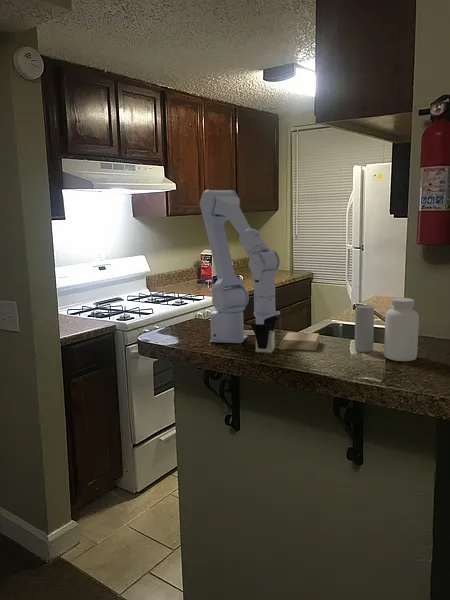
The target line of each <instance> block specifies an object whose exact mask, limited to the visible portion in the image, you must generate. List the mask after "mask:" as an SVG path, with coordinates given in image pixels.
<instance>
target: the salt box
mask: <svg viewBox="0 0 450 600" xmlns="http://www.w3.org/2000/svg"><path fill="white" fill-rule="evenodd" d="M275 331H276V330H274V331H272V330H270V332H269V336H268V344H267V348H266V349H259V348H258V345H257V340H256V339H255V353H270V354H272V353H273V351H274V350H275V349H276V347H275V346H276V344H275V343H276V342H275V341H276V339H275V335H276V334H275Z"/></svg>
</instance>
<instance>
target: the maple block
mask: <svg viewBox="0 0 450 600" xmlns="http://www.w3.org/2000/svg"><path fill="white" fill-rule="evenodd" d="M319 343H320V333H318V332H317V333H315V332H314V333H313V332H294V331H293V332H292V331H288V332H286V334H285V336H284V337H283V338H282V350H297V351H299V350H300V351H317V349H318V346H319Z"/></svg>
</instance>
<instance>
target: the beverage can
mask: <svg viewBox="0 0 450 600" xmlns="http://www.w3.org/2000/svg"><path fill="white" fill-rule="evenodd" d="M374 324H375V308H374V306H373V305H368V304H359V305H356V306H355V309H354V349H355V352H358V353H371V352H373V351H374V335H375V334H374V329H375V325H374Z"/></svg>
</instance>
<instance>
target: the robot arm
mask: <svg viewBox="0 0 450 600" xmlns="http://www.w3.org/2000/svg"><path fill="white" fill-rule="evenodd" d="M240 204H241V200H240V198H239V196H238V194H237V193H236V191H235V190H233V189H229V190H225V189H224V190H222V189H219V190H218V189H217V190H215V189H214V190H211V189H206V190H204V191H203V192H202V194H201V197H200V200H199V206H200V211H201V216H202V219H203V222H204V226H205V230H206V235H207V238H208V239H207V240H208V242H209V248H210V253H211V257H212V261H213V265H214V266H213V267H214V270H215V276H216V278H217V280H216V281H215V283H213V285H212V287H211V295H212V296H211V303H212V305H213V307H214V309H215V310H212V311H211V314H210V319H209V322H210V323H209V324H210V326H209V327H210V340H209V341H210V343H225V344H227V343H228V344H242V343H243V342H244V341H245V340H246V339H247V338H248V335H246V334H244V310H246V307H247V305H248V304H249V300H250V297H249V296H250V295H249V292H248V290H247V289H246V287H245V283H244V281H243V280H242V279H241V278H239V277H237V276H236V273H235V268H234V265H233V261H232V260H233V259H232V255H231V251H230V246H229V242H228V238H227V234H226V229H225V223H226V222H228V221H229V222H230V224H231V225H232V227H234V229H235V230H236V231H237V233H238V234H239V236H238V237H239V238H238V241H239V244H240V245H241V247H242V249H243V250H244V252H245V254H246V255H247V257H248V259H249V261H248V268H249V270H250V272H251V277H252V280H253V307H254V309H253V310H254V311H253V316H254V317H255V321H252V322H251V321H250V327H251V329H252V331H253V333H254V335H255V341H256V340H257V345H258V348H259V349H266V348H267V344H268V336H269V332H270V330H272V331H275V327H276V325H277V321H278V319H279V315H280V314H281V312H280V310H278V311H277V310H276V271H277V270H278V269H279V268H280V264H281V263H280V256H279V254H278V252H277V251H276V250H275V249H271V247H269V246H267V244H266V243H265V241H264V240H263V238H262V236H261V234H260V232H259V231H258V230H257V229H255V228H251V226H250V224H249V223H248V221H247V219H246V217H245V215H244V213H243V211H242V209H241V207H240Z"/></svg>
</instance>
